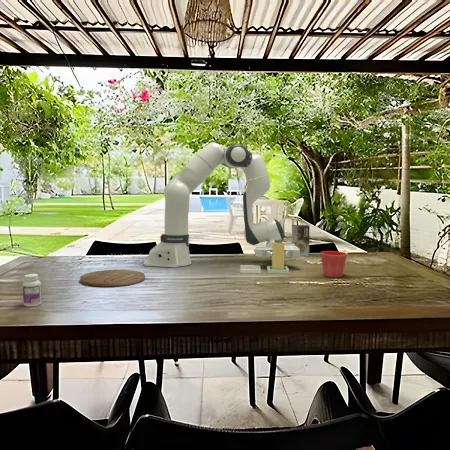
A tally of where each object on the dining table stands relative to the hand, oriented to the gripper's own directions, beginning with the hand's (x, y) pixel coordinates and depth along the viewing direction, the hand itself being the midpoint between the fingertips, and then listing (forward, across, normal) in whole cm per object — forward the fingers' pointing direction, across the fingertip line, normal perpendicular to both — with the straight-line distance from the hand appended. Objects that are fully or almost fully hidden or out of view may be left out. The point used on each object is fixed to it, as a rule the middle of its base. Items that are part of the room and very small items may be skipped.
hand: (278, 254), depth 193 cm
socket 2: (-1, 0, +8) cm, 8 cm away
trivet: (+21, -67, +8) cm, 71 cm away
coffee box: (-44, +15, +8) cm, 47 cm away
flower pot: (+5, +23, +8) cm, 25 cm away
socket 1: (-1, -12, +8) cm, 14 cm away
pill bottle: (+57, -82, +8) cm, 100 cm away
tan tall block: (-1, 0, +6) cm, 7 cm away
